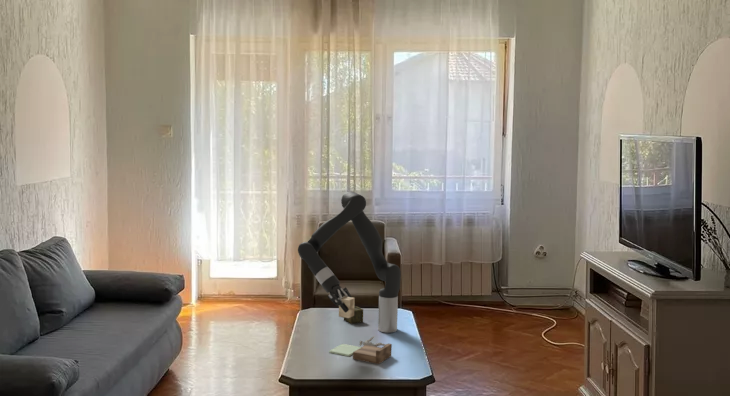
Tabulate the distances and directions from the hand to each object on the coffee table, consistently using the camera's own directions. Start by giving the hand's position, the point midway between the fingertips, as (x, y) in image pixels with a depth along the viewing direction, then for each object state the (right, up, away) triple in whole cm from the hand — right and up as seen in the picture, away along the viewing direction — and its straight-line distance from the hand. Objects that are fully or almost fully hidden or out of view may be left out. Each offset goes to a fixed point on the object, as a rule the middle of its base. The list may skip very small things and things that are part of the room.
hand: (350, 309), depth 319 cm
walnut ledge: (+9, -20, -5) cm, 22 cm away
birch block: (-2, -3, +1) cm, 4 cm away
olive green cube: (0, -15, +51) cm, 53 cm away
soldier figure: (+10, -19, +6) cm, 22 cm away
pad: (-2, -19, +3) cm, 19 cm away
